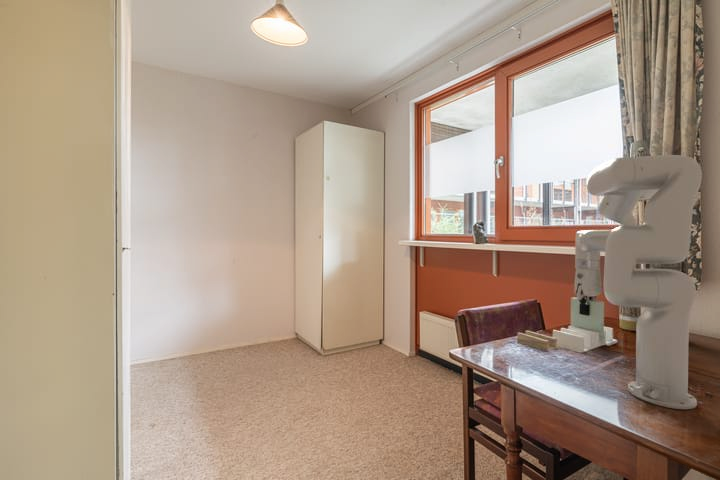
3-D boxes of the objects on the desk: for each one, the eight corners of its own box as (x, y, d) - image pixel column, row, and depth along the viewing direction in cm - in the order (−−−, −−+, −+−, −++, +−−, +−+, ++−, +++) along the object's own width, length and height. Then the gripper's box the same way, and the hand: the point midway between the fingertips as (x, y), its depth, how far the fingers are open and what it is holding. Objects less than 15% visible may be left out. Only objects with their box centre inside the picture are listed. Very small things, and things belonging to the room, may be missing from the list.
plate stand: (547, 353, 111) (547, 342, 111) (515, 343, 121) (515, 332, 121) (559, 350, 114) (559, 338, 114) (526, 340, 125) (526, 329, 125)
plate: (600, 336, 116) (600, 302, 116) (570, 329, 125) (570, 297, 125) (603, 335, 118) (604, 301, 117) (574, 328, 126) (574, 297, 126)
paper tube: (641, 329, 139) (641, 269, 138) (640, 332, 134) (640, 271, 133) (620, 325, 143) (621, 268, 143) (618, 329, 138) (619, 269, 138)
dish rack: (580, 355, 109) (581, 339, 109) (548, 345, 119) (548, 330, 118) (617, 342, 121) (617, 327, 121) (584, 334, 131) (584, 321, 131)
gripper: (587, 266, 113) (586, 319, 114) (610, 264, 121) (609, 313, 122) (564, 264, 120) (563, 315, 120) (587, 262, 128) (587, 309, 128)
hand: (586, 313), depth 121 cm, fingers closed on plate, 2 cm apart
